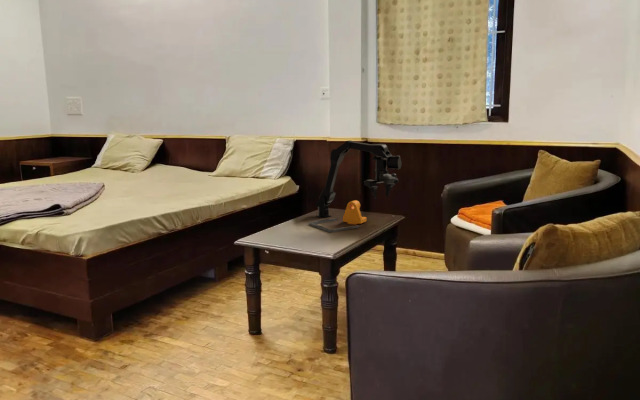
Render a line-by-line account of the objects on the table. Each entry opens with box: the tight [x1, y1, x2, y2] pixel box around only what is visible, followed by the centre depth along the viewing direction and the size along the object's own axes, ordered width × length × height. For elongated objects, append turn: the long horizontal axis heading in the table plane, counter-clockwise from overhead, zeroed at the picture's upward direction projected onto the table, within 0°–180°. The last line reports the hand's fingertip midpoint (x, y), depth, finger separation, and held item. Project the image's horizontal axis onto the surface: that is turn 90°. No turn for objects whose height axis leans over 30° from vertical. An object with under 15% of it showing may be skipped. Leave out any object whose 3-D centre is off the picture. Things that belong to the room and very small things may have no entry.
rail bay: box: [308, 217, 360, 234], centre depth 265 cm, size 21×18×1 cm
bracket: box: [342, 199, 367, 225], centre depth 271 cm, size 11×7×12 cm, turn 58°
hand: (381, 197), depth 269 cm, fingers open, 8 cm apart
